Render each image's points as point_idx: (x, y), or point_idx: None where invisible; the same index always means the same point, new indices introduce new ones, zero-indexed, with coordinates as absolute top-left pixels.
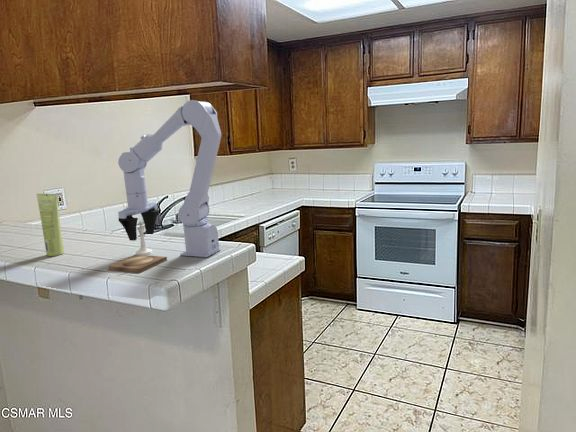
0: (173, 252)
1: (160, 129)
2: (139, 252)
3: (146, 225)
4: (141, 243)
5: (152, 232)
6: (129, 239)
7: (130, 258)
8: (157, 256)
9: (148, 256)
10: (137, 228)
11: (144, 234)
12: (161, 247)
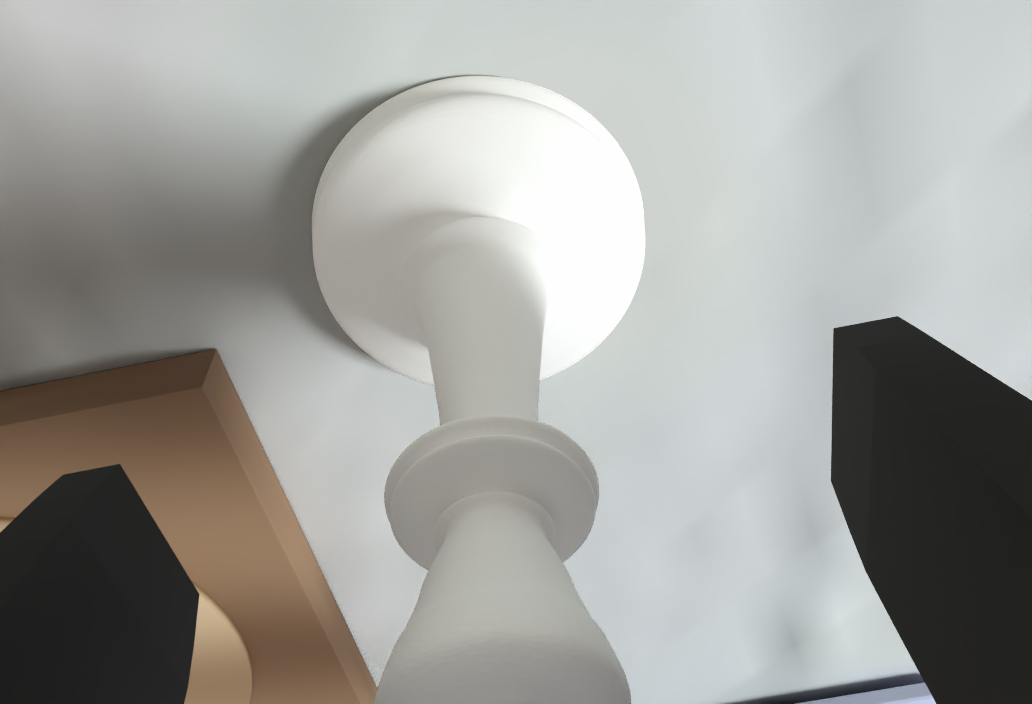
0: (710, 583)
1: None
2: (343, 302)
3: (984, 554)
4: (435, 382)
5: (857, 530)
6: (42, 503)
7: (11, 485)
8: (346, 696)
9: (270, 615)
10: (393, 686)
11: (567, 543)
12: (947, 203)
